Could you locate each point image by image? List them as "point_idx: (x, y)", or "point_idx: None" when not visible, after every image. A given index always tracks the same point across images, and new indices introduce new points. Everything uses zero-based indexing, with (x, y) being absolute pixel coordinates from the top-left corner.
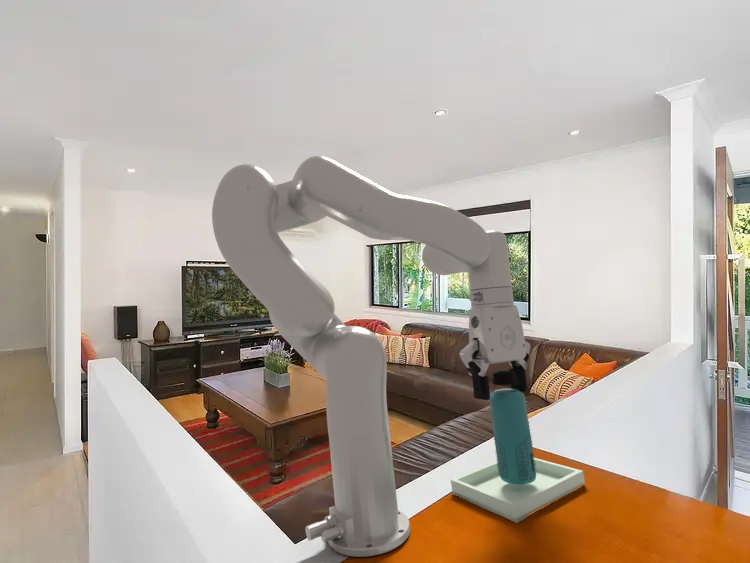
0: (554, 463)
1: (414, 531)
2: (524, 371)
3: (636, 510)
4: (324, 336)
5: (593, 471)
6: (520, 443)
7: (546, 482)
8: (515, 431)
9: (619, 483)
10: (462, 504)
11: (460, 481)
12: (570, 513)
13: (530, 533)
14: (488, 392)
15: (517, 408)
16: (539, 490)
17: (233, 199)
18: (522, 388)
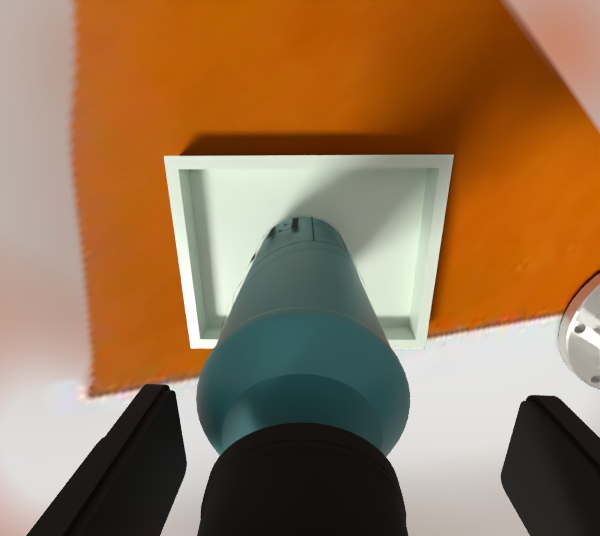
0: (178, 239)
1: (582, 274)
2: (53, 526)
3: None
4: None
5: (92, 190)
6: (330, 247)
7: (243, 220)
8: (345, 268)
9: (103, 101)
10: (437, 287)
11: (419, 327)
12: (324, 96)
13: (457, 105)
14: (578, 429)
15: (333, 298)
16: (344, 164)
17: None
18: (168, 409)
